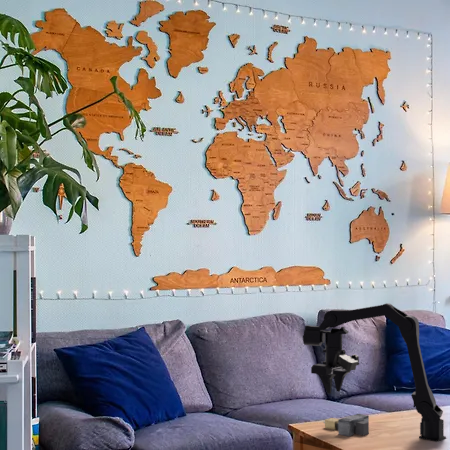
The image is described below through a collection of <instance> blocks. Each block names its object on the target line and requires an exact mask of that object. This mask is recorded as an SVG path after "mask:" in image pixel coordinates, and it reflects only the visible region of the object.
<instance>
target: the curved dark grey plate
mask: <svg viewBox="0 0 450 450" xmlns="http://www.w3.org/2000/svg"><path fill="white" fill-rule="evenodd" d="M369 416H370V415H369V414H368V415H367V414H362V413H356V414H353V415H349V416H346V417H343V418H337V419H338V430H337V431H338V432H337V433H338V435H341V436H346V437H351V436H354V435H355V433H354V425H355V426H356V422H359V421H364V422H369V419H370V418H369Z"/></svg>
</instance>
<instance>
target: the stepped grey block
mask: <svg viewBox="0 0 450 450" xmlns="http://www.w3.org/2000/svg"><path fill="white" fill-rule="evenodd" d="M369 424H370V423H369V422H364V421H359V422H356V426H355V425H354V434H356V435H358V436H359V435H360V436H367V435H369V432H370V431H369V430H370V427H369V426H370V425H369ZM337 431H338V423H337Z"/></svg>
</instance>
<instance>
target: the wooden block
mask: <svg viewBox="0 0 450 450" xmlns="http://www.w3.org/2000/svg"><path fill="white" fill-rule="evenodd" d="M338 419H339V418H334V417H330V418H326V419H324V421H323V424H324V429H327V430H333V431H336V430H337V423H338ZM337 431H338V430H337Z"/></svg>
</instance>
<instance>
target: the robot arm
mask: <svg viewBox="0 0 450 450" xmlns="http://www.w3.org/2000/svg"><path fill="white" fill-rule="evenodd" d="M377 317H386V318H387V319H388V320H390V321H391V322H392V323H393V324H394V325H396V326H397V327H398V330H399V333H400V334H401V337H402V339H403V341H404V343H405V346H406V348H407V352H408V359H409V362H410V367H411V371H412V372H411V373H412V377H413V380H414V382H413V383H414V386H415V391H413V392H412V393H411V399H412V401H413V408H415V411H416V413H418V414H420V415H421V419H420V420H421V421H420V423H419V429H420V430H419V431H420V432H419V435H418V438H419V439H422V440H427V441H428V440H429V441H433V442H439V441H441V440H445V439H446V438H447V436H445V435H444V433H445V432H444V429H445V427H444V419H442V418H441V417H442V416H443V412H444V410H442V409H441V407H440V406H439V405H438V404H437V401H436V399H435V397H434V393H433V391H432V390H431V387H430V386H429V383H428V378H427V373H426V368H425V363H424V360H423V355H422V350H421V345H420V322H419V319H418V318H417V317H416V316H414V315H409V314H406V313H405V312H404V311H402V310H400V309H398V308H396V307H395V306H393V304H391V303H387V302H385V303H384V304H380V305H379V304H378V305H373V306H368V307H367V306H366V307H362V308H355V309H344V308H343V309H335V308H334V309H331V310H328V311H326V313H325V314H324V315H323V320H322V322H321V323H320V324H319V326H317V325H310V324H306V325H305V326H304V331H303V335H302V342H303V345H304V346H315V347H316V346H317V347H318V346H320V347H321V346H322V344H325V346H324V347H325V348H324V349H322V353H325V358H324V359H325V360H324V361H323V360H322V363H315V364H312V366H311V367H310V373H311V374H314V375H315V374H316V375H317V376H318V377H319V378H320V381H321V383H322V384H323V386H324V389H325V391H326V393H327V394H329V395H330V394H332V385H333V384H332V383H333V381H334V385H335V390H336V392H341V390H342V386H343V383H344V380H345V377H346V376H347V375H348V374H349V373H351V372H352V371H355V370H356V369H357V366H360V356H359V355H357V354H352V355H347V353H346V350H345V349H343V335H347V334H349V331H348V330H347V329H346V327H345V326H342V325H344V324H346V323H347V324H348V323H350V322H352V321H353V322H354V321H359V320H366V319H372V318H377ZM338 326H341V327H340V328H336V327H338ZM330 328H331V330H328V329H330Z"/></svg>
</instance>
